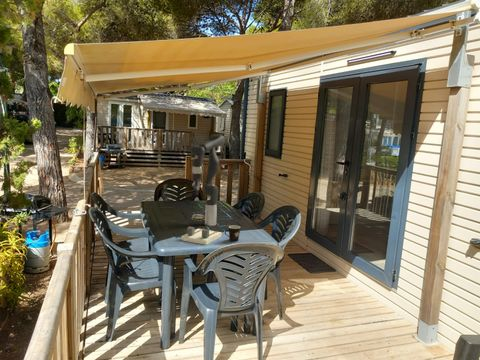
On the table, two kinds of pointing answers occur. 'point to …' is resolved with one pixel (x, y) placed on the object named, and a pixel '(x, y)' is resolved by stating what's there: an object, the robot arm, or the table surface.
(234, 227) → the coffee mug
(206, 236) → the slider
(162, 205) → the table surface
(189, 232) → the slider
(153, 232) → the table surface
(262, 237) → the table surface
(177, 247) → the table surface
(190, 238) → the switch panel
